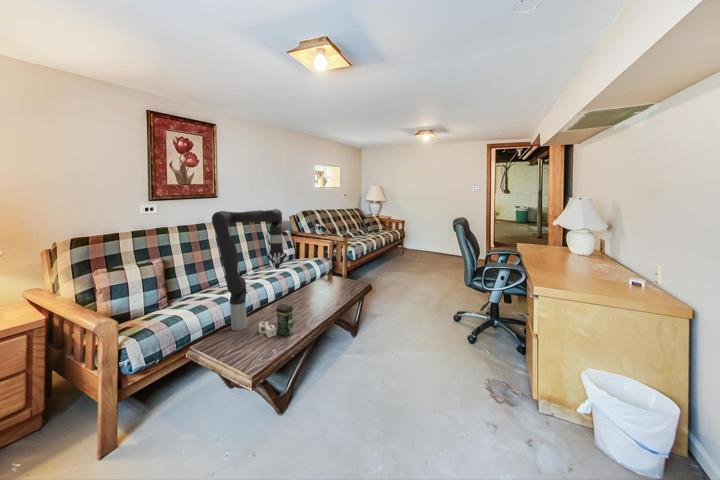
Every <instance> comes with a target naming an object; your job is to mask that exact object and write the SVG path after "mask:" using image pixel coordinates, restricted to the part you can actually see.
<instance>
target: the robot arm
mask: <svg viewBox="0 0 720 480" xmlns="http://www.w3.org/2000/svg"><path fill="white" fill-rule="evenodd" d="M282 213H283V212H282V211H281V210H280V209H276V208H274V209H269V210H250V211H248V210H247V211H239V212H238V211H237V212H233V211H226V210H221V211H216V212H215V213H213V214H212V216H211V222H212V225H213V228H214V231H215V233H216V237H217V242H218V247H219V253H220V258H221V260H222V265H223V269H224V272H225V280H226V281H225V282H226V288H227V291H228V292H229V293H230V297H229V309H230V326H231V327H230V328H231V331H242V330H245V329H246V328H247V327H248V320H247V317H248V316H247V305H246V300H247V299H246V298H247V283H246V280H245V278H243V277H242V276H240V275H239V268H238V267H239V256H238V255H239V254H238V250H237V249H238V248H237V245H236V244H235V242H234V241H233V238H232V236H231V235H230V231H229V225H233V224H236V223H251V224H252V223H263V222H266V223H267V222H268V223H269V222H270V226H269V249H270V250H269V253H267V254H266V255H265V256H266V257H267V258H268V260H269V261H270V262H271V263H272V264H274V268H275V270H279V268H280V267H281V265H280V264H281V263H283V261H284V260H285V258H286V257H287V256H288V254H287V253H286V252H284V249H283V248H284V247H283V245H284V244H283V243H284V241H283V233H282V232H283V230H282V223H283V214H282Z"/></svg>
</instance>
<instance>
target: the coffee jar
mask: <svg viewBox="0 0 720 480" xmlns="http://www.w3.org/2000/svg"><path fill="white" fill-rule="evenodd" d="M293 308H294V307H293V306H292V305H290V304H286V303H280V304H278V305H277V306H276V315H277V325H276V326H277V328H276V334H278V335H281V336H284V337H288V336H291V335H292V334H293V333H294V323H293V322H294V321H293V313H294V309H293Z"/></svg>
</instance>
